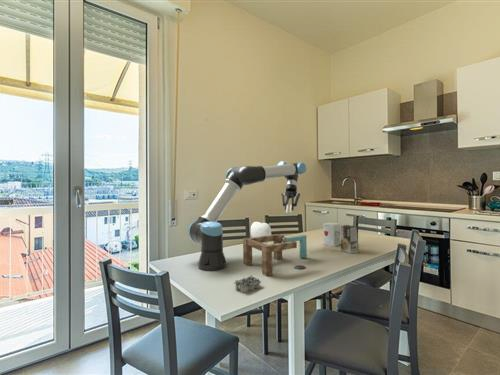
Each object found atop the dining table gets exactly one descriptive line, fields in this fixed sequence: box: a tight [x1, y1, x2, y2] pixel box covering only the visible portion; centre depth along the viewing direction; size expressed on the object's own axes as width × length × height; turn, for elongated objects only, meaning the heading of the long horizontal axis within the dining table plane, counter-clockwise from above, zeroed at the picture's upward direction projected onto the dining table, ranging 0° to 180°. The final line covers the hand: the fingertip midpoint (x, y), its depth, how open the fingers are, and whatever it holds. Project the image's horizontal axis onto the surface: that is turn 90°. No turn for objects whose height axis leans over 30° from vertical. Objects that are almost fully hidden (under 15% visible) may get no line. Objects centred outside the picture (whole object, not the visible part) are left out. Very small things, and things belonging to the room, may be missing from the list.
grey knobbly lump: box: [233, 274, 262, 293], centre depth 117 cm, size 11×8×4 cm
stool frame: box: [242, 233, 307, 277], centre depth 147 cm, size 25×25×14 cm
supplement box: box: [322, 222, 342, 247], centre depth 194 cm, size 9×9×15 cm
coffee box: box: [340, 224, 359, 254], centre depth 174 cm, size 9×6×16 cm
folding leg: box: [282, 234, 308, 259], centre depth 158 cm, size 16×4×13 cm, turn 119°
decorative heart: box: [250, 221, 272, 245], centre depth 191 cm, size 18×11×17 cm, turn 38°
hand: (288, 213), depth 179 cm, fingers open, 2 cm apart
